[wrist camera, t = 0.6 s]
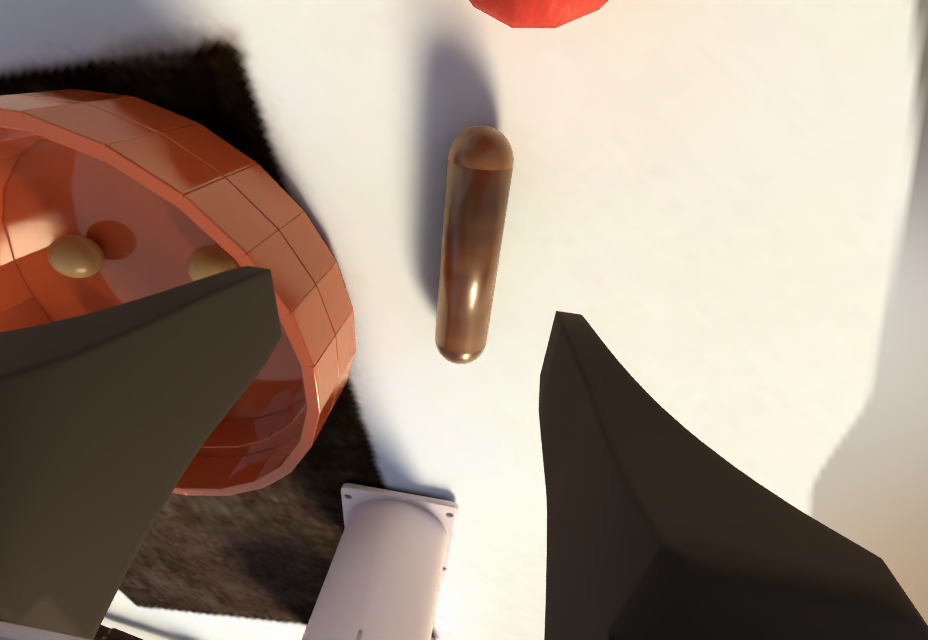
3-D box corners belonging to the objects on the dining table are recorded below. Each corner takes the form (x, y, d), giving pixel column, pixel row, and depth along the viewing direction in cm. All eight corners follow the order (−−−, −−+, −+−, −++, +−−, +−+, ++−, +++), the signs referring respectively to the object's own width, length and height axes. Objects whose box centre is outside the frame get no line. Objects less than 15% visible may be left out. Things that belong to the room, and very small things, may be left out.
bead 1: (121, 269, 21) (86, 288, 20) (83, 263, 21) (45, 282, 20) (106, 231, 20) (68, 248, 19) (67, 225, 20) (25, 241, 19)
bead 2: (250, 280, 21) (225, 300, 19) (210, 274, 21) (182, 294, 19) (242, 241, 20) (215, 259, 18) (200, 235, 20) (170, 253, 18)
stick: (485, 347, 22) (480, 378, 20) (438, 340, 22) (429, 370, 20) (519, 124, 16) (517, 136, 14) (455, 116, 16) (445, 127, 14)
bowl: (364, 449, 27) (334, 523, 23) (81, 400, 28) (3, 462, 24) (347, 120, 17) (286, 145, 12) (-103, 63, 18) (-298, 69, 14)
